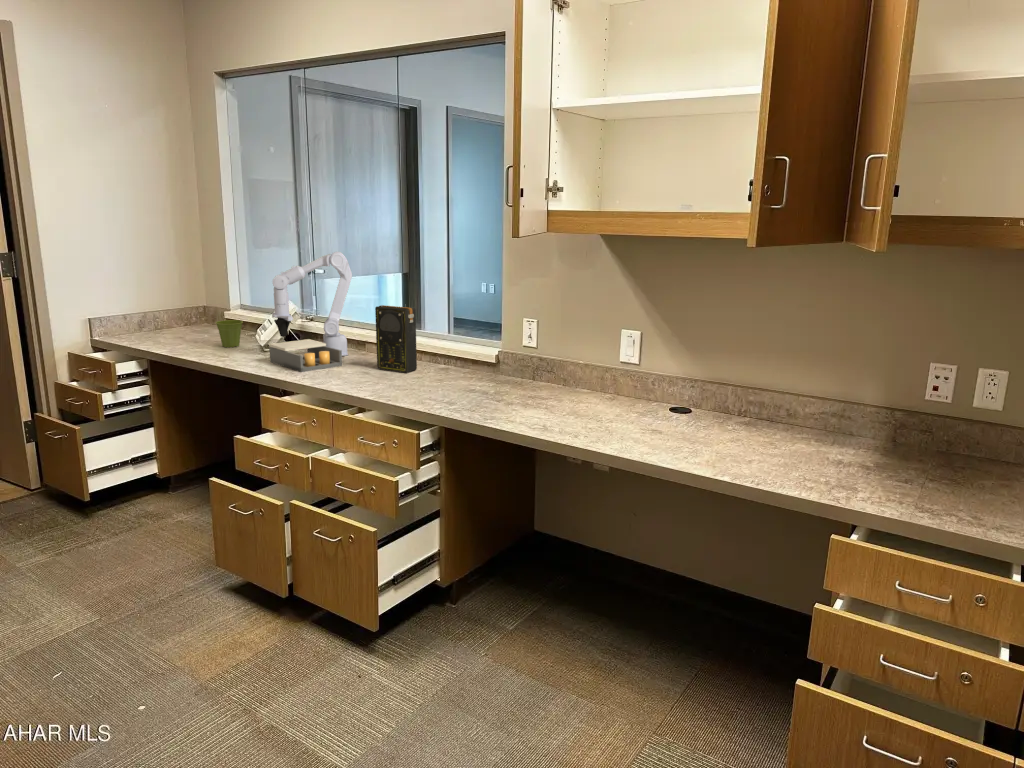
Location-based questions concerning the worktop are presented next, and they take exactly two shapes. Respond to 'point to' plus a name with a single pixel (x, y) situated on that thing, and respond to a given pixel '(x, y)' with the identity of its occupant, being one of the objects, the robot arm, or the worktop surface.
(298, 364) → the housing
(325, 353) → the peg
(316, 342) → the lid
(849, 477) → the worktop surface
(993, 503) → the worktop surface
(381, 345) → the voltmeter
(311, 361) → the orange rounded cylinder
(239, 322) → the plant pot
